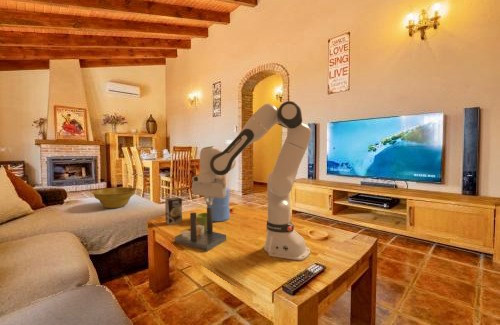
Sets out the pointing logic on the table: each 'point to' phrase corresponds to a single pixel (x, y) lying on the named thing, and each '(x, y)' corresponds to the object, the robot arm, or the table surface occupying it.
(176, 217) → the coffee box
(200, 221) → the plant pot
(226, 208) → the water jug
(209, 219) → the cord post right
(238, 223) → the table surface
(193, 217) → the cord post left
